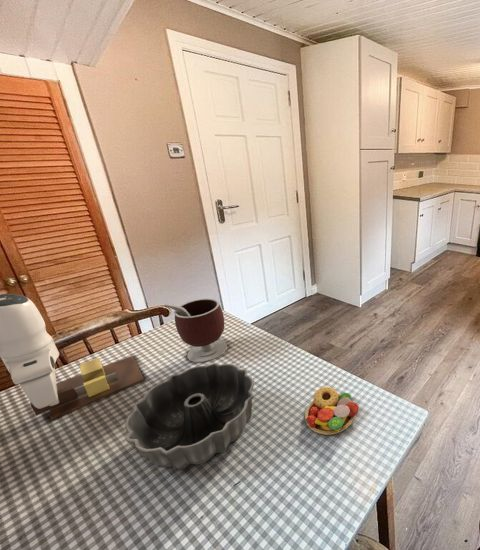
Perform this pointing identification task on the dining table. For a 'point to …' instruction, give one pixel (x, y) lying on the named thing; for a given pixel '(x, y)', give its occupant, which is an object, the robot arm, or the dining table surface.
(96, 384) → the butter pat
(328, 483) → the dining table surface
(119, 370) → the butter board
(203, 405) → the bundt pan
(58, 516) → the dining table surface
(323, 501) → the dining table surface
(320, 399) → the toy food set
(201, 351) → the mate gourd
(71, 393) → the knife
